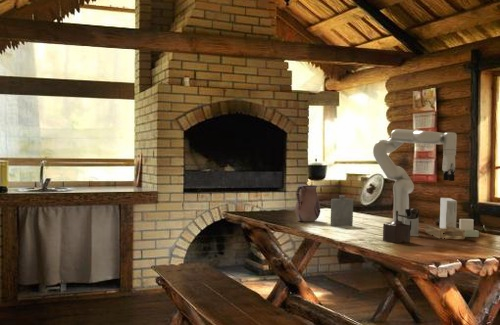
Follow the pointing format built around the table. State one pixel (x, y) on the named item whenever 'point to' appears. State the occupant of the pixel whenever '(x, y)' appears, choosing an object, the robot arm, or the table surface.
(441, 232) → the rack
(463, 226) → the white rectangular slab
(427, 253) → the table surface
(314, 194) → the ceramic pitcher
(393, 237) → the dark brown coffee grinder
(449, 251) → the table surface
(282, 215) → the table surface
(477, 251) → the table surface
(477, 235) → the holder
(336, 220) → the hip flask
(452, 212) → the packaging
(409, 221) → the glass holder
